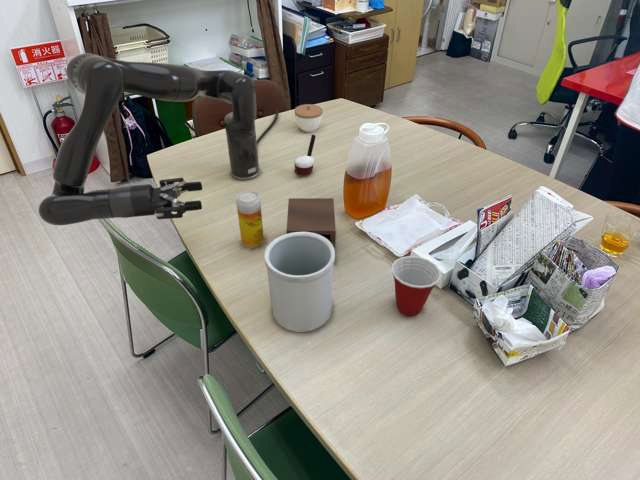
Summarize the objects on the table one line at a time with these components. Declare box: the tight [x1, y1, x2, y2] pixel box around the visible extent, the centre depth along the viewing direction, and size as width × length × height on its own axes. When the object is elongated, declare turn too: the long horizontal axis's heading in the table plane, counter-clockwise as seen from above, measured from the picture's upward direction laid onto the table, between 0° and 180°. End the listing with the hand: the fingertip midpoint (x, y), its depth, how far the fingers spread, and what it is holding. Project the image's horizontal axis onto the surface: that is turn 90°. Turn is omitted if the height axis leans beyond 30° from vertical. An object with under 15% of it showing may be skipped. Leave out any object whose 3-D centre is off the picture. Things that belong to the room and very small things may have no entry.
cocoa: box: [294, 134, 317, 177], centre depth 150 cm, size 10×6×12 cm, turn 119°
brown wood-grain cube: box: [286, 197, 337, 251], centre depth 121 cm, size 14×12×11 cm
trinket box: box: [293, 103, 324, 133], centre depth 176 cm, size 11×11×9 cm
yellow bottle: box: [235, 190, 265, 249], centre depth 121 cm, size 6×6×15 cm
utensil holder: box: [263, 232, 336, 333], centre depth 102 cm, size 15×15×18 cm
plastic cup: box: [391, 255, 442, 317], centre depth 104 cm, size 11×11×12 cm
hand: (201, 195), depth 113 cm, fingers open, 8 cm apart
